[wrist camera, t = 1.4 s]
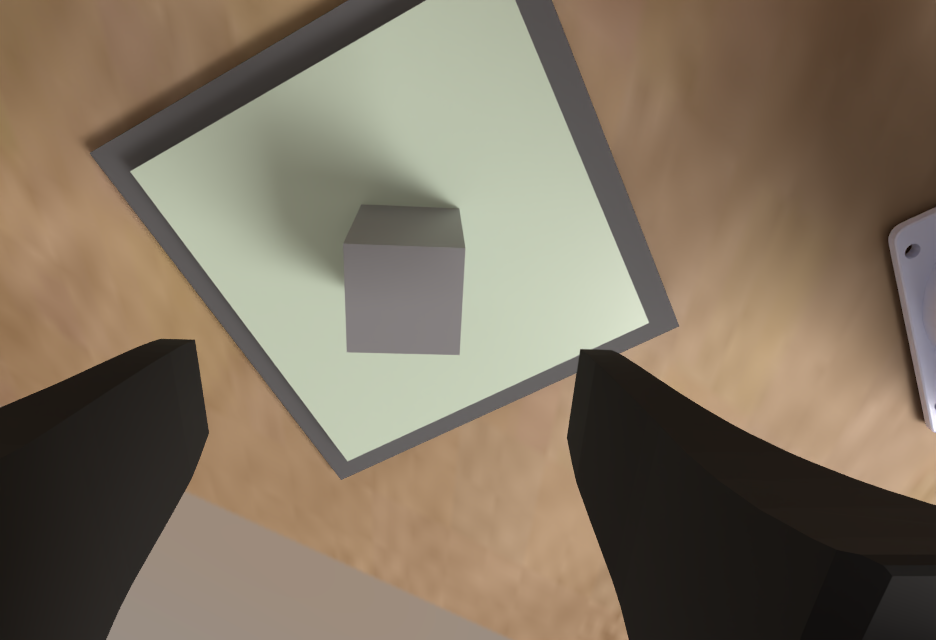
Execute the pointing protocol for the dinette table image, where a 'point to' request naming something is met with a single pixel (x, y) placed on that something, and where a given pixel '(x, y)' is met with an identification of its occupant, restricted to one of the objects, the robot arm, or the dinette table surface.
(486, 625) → the dinette table surface
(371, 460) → the mat
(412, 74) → the sheet
